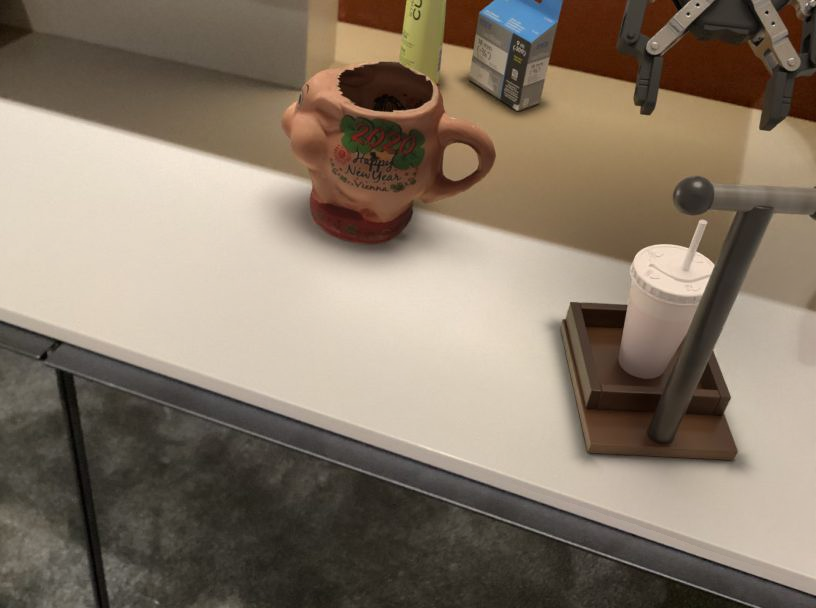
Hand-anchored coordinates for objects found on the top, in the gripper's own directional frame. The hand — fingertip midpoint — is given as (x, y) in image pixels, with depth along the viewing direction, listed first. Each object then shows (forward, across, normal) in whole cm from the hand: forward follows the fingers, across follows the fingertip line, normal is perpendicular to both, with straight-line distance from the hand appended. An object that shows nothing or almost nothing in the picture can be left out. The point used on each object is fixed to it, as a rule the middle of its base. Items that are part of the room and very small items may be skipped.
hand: (707, 120), depth 70 cm
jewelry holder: (+20, 0, +8) cm, 21 cm away
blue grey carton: (-14, -14, +41) cm, 46 cm away
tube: (-14, -24, +41) cm, 50 cm away
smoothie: (+18, 0, +8) cm, 20 cm away
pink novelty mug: (+7, -24, +20) cm, 33 cm away
